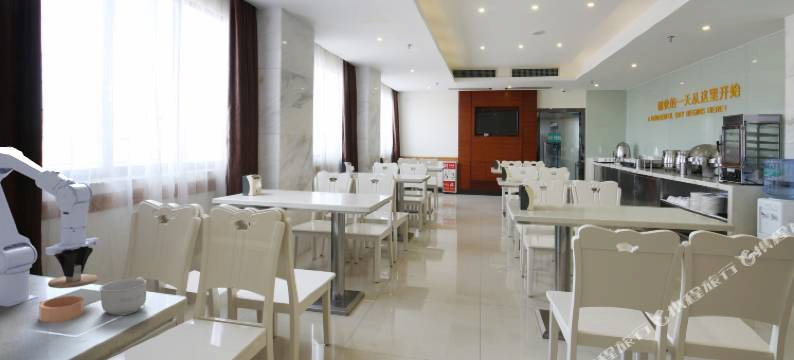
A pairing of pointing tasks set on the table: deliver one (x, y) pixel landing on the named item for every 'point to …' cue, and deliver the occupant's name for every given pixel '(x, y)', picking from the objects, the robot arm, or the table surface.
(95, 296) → the mat
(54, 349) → the table surface
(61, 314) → the bowl
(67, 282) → the lid
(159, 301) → the table surface
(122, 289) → the teacup
